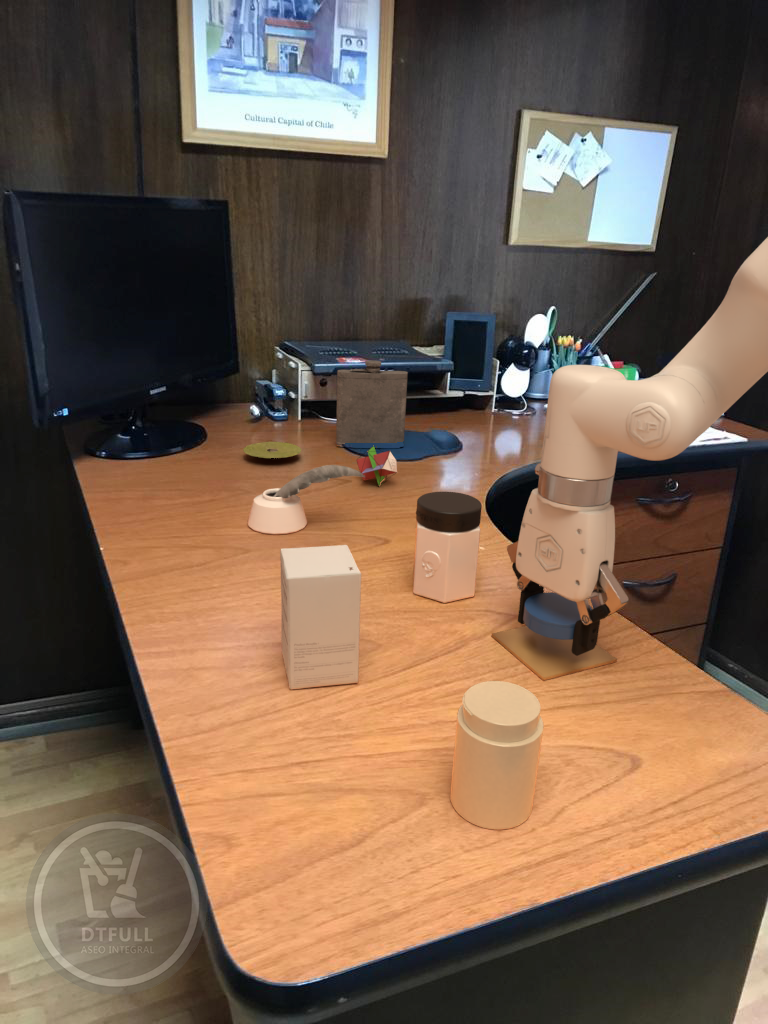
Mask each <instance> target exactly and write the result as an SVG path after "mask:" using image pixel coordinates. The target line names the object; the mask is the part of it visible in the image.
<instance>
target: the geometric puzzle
mask: <svg viewBox="0 0 768 1024" xmlns="http://www.w3.org/2000/svg"><path fill="white" fill-rule="evenodd" d="M376 448H377V446H376ZM378 451H379V452H380V453H377V449H375V447H374V445H373V447H371V448H370V449H367V450H366V451H365V452H364V453H362V454H361V455H360V456H359V458H355V461H356V464H357V467H358V471H359V472H361V473H362V474H363V475H364V476H365V477H361V479H362V480H363V479H365V481H366V480H374V479H375V480H376V481H377V485H378V486H379V485H380V482H381V481H382V480H383V479H384V478H386V480H389V479H391V478H392V476H395V475H396V474H398V462H397V459H396V458H395V456H394V454H393V453H392V452H391V450H386V451H382V449H378ZM365 454H366V455H365ZM363 455H365V456H364V457H362V456H363ZM367 455H368V456H367ZM388 475H390V476H389V477H387V476H388ZM370 483H373V485H376V483H374V482H373V481H370ZM384 483H386V481H384V482H383V484H384Z"/></svg>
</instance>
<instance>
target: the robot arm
mask: <svg viewBox="0 0 768 1024" xmlns="http://www.w3.org/2000/svg"><path fill="white" fill-rule="evenodd" d="M767 373H768V236H767V237H766V238H765V239H764V240H763V241H762V242H761V243H760V244H759V245H758V247H757V248H755V250H754V251H753V252H752V253H751V254H750V255H749V256H747V258H746V259H745V260H744V261H743V263H742V264H741V265H740V266H739V268H738V269H737V271H736V273H735V274H734V276H733V278H732V279H731V282H730V284H729V286H728V289H727V292H726V293H725V296H724V298H723V300H722V301H721V303H720V305H719V306H718V307H717V309H716V310H715V311H714V313H713V314H712V315H711V317H710V318H709V319H708V320H707V321H706V323H705V324H704V325H703V326H702V327H701V328H700V330H699V331H698V332H697V333H696V334H695V335H694V336H693V337H692V338H691V339H690V340H689V341H688V342H687V343H686V345H685V346H684V347H683V348H682V349H681V350H680V351H679V352H678V353H677V354H676V355H675V356H674V357H673V358H672V359H671V360H670V361H669V362H668V363H667V365H665V366H664V367H663V368H662V369H661V370H660V371H659V372H658V373H656V374H654V375H652V376H650V377H646V378H644V379H638V380H637V379H636V380H633V379H627V378H626V377H625V375H624V374H623V373H622V372H621V371H620V370H619V371H618V370H616V369H614V368H610V367H606V366H600V365H593V364H569V365H565V366H560V367H559V368H558V369H555V371H554V372H553V374H552V375H551V378H550V383H549V387H548V388H549V389H548V396H547V406H546V413H545V423H544V430H543V431H544V432H543V439H542V449H541V457H540V462H539V463H537V464H536V466H535V468H534V473H535V475H537V476H538V484H537V487H536V488H534V489H532V491H531V492H530V495H529V497H528V500H527V504H526V506H525V510H524V513H523V517H522V521H521V525H520V530H519V535H518V540H517V541H515V542H512V543H510V544H509V545H507V547H506V551H507V554H508V557H509V558H510V561H511V563H512V565H511V567H512V570H513V573H514V575H515V577H516V579H517V582H516V587H517V589H518V590H519V591H520V597H519V603H518V604H519V605H518V613H517V614H518V615H517V622H518V623H519V624H521V625H525V623H524V620H523V616H524V606H525V602H526V600H527V599H528V598H529V597H531V596H533V595H536V594H539V593H545V589H546V590H548V591H549V592H553V593H556V594H558V595H560V596H562V597H564V598H566V599H569V600H571V601H575V602H576V604H577V607H578V611H579V614H580V618H581V620H579V621H577V622H576V623H575V629H574V636H573V643H572V650H571V651H572V653H573V654H574V655H576V656H578V655H581V654H583V653H585V652H588V651H590V650H593V649H594V648H595V646H596V644H597V645H598V638H599V632H600V624H601V621H602V620H604V619H606V618H607V617H610V616H611V615H613V614H615V613H616V612H617V611H619V610H620V609H622V607H624V606H626V605H627V604H628V603H629V597H628V595H627V593H626V592H625V590H624V589H623V587H622V586H621V584H620V583H619V581H618V579H617V578H616V576H615V575H614V573H613V568H614V560H615V546H616V516H615V506H614V505H612V504H611V500H612V494H613V486H614V481H615V473H616V468H617V467H616V466H617V462H618V461H617V460H618V453H619V452H620V453H623V454H626V455H629V456H632V457H635V458H637V459H641V460H645V461H646V460H647V461H655V462H656V461H665V460H669V459H672V458H674V457H676V456H678V455H680V454H682V453H683V452H684V451H685V450H687V448H688V447H690V446H691V445H692V444H693V443H694V442H695V441H696V440H697V439H698V438H699V437H700V436H702V434H704V433H705V432H706V431H707V430H708V429H710V428H711V426H712V425H713V424H715V422H717V421H718V419H719V418H721V416H723V415H724V413H726V412H727V411H728V410H729V409H730V408H732V406H733V405H734V404H735V403H736V402H737V401H738V400H739V399H740V398H742V397H743V395H744V394H746V393H747V392H748V391H749V390H750V389H751V388H752V387H753V386H754V385H755V384H756V383H757V382H759V380H760V379H762V377H764V375H766V374H767ZM602 594H605V596H606V601H604V598H603V595H602ZM589 599H590V603H591V605H590V603H589ZM589 605H590V606H591V607H592V609H593V610H590V606H589Z"/></svg>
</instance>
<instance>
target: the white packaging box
mask: <svg viewBox="0 0 768 1024" xmlns="http://www.w3.org/2000/svg"><path fill="white" fill-rule="evenodd" d="M279 551H280V553H279V554H280V555H279V556H280V557H279V558H280V595H281V596H280V598H281V599H280V602H281V603H280V605H281V606H280V607H281V608H280V609H281V611H280V613H281V614H280V615H281V616H280V617H281V620H280V622H281V632H280V633H281V637H280V639H281V640H280V641H281V654H282V659H283V663H284V664H283V665H284V669H285V673H286V678H287V684H288V687H289V690H298V689H300V690H301V689H307V688H308V689H309V688H319V687H328V686H336V685H337V686H338V685H349V684H358V683H359V675H360V673H359V672H360V671H359V670H360V639H361V637H360V636H361V635H360V634H361V605H362V603H361V599H362V572H361V571H360V569H359V567H358V565H357V563H356V561H355V558H354V556H353V554H352V552H351V550H350V547H349V546H348V545H347V544H339V545H337V544H336V545H323V546H321V545H320V546H306V547H304V546H303V547H289V548H288V547H287V548H286V547H285V548H283V547H282V548H280V550H279Z"/></svg>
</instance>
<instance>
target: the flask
mask: <svg viewBox="0 0 768 1024" xmlns="http://www.w3.org/2000/svg"><path fill="white" fill-rule="evenodd" d="M364 364H365V366H366V367H365V368H351V369H338V370H337V375H336V377H337V378H336V420H335V421H336V425H335V426H336V427H335V445H336V444H337V445H342V444H345V443H397V442H403V441H404V442H405V429H406V428H405V427H406V412H407V411H406V409H407V391H408V389H407V388H408V373H409V372H408V371H404V370H381V367H382V361H381V360H371V359H369V360H365V363H364Z"/></svg>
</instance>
